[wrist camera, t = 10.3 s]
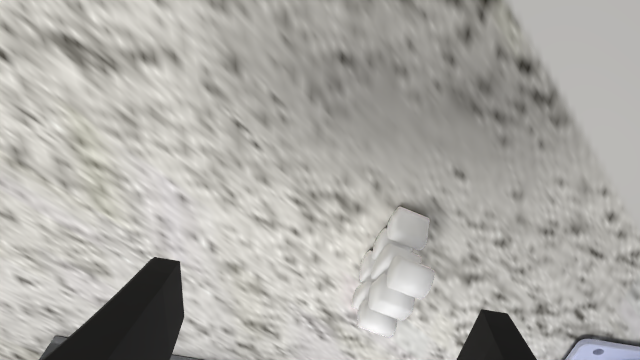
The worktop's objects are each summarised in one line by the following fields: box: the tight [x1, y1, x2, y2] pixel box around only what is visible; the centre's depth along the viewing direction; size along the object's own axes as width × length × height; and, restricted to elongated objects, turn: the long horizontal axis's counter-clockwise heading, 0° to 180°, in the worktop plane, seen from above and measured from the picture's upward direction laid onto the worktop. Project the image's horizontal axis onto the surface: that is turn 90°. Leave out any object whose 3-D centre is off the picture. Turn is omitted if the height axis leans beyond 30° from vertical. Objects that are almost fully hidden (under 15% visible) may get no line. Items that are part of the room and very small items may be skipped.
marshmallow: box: [352, 207, 435, 338], centre depth 21 cm, size 5×1×4 cm, turn 157°
